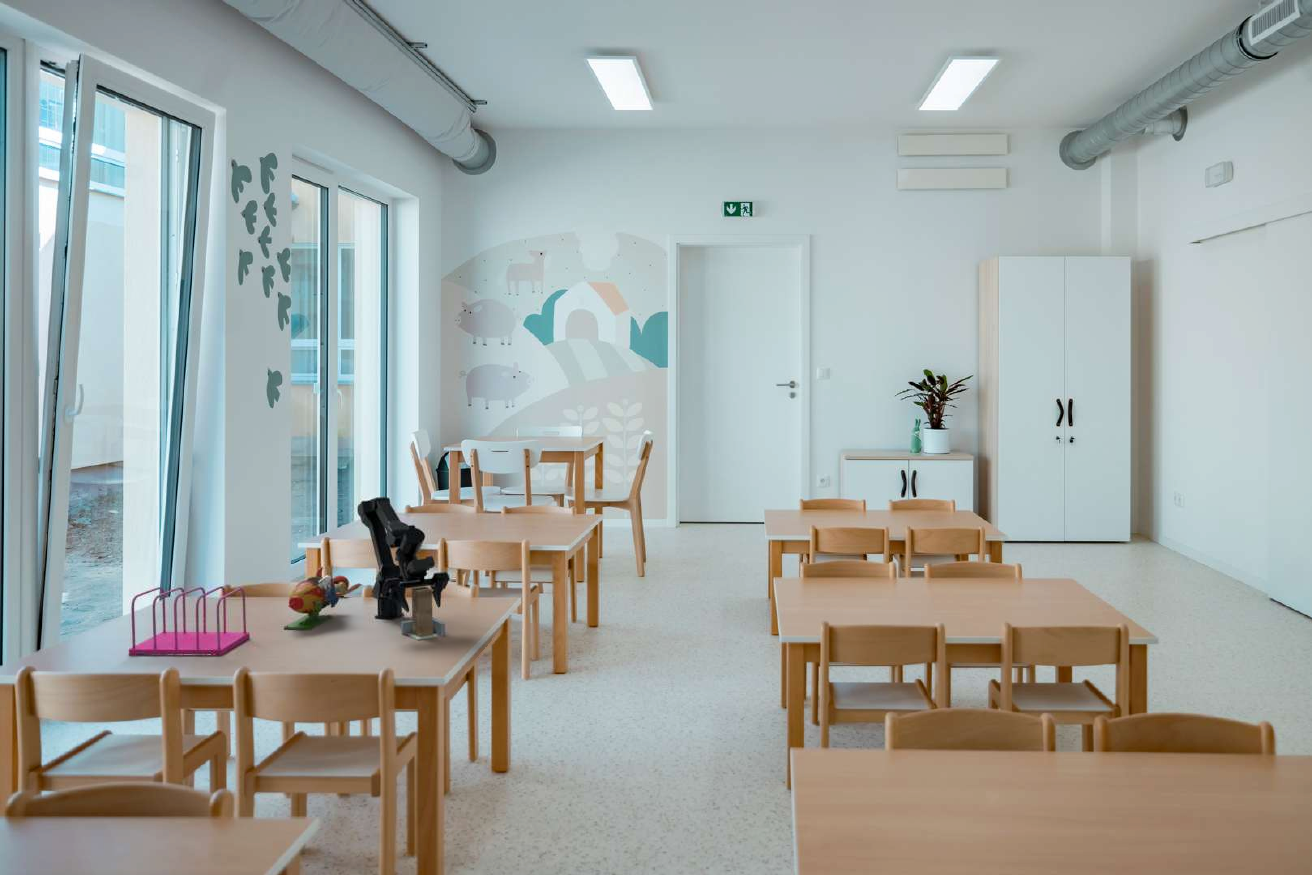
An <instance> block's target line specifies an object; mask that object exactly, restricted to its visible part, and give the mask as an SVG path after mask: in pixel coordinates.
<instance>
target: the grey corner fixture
mask: <svg viewBox="0 0 1312 875" xmlns="http://www.w3.org/2000/svg"><path fill="white" fill-rule="evenodd" d="M432 617H433V635H430V636H424V637H418V636H416V635H414V634H413V624H412V619H411V620H406V621H401V622H400V623H401V624H400V626H401V627H400V628H401V629H400V630H401V635H402V636H403V635H404V636H405V635H407V636H409V637H410V638H412V639H414V640H416V641H422V640H427V639H435V638H438V637H439V636H440V637H443V636H446V623H445V622H443V621H441V620H440V619H437V618H436V617H435V616H432ZM438 635H439V636H438Z"/></svg>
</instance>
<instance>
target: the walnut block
mask: <svg viewBox="0 0 1312 875" xmlns="http://www.w3.org/2000/svg"><path fill="white" fill-rule="evenodd" d="M432 591H433V590H432V589H431V588H428V586H423V587H416V588H411V614H412V615H411V617H412V619H411V620H412V624H413V634H414V635H416V636H418V637H424V636H430V635H433V633H434V632H433V617H434V616H433V594H432Z"/></svg>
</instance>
